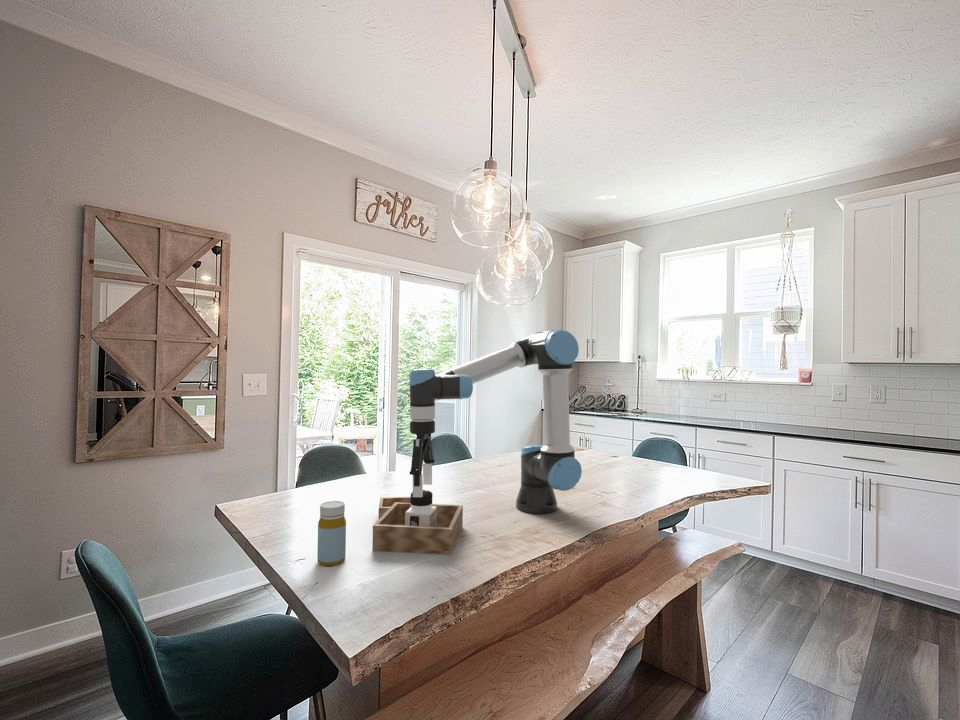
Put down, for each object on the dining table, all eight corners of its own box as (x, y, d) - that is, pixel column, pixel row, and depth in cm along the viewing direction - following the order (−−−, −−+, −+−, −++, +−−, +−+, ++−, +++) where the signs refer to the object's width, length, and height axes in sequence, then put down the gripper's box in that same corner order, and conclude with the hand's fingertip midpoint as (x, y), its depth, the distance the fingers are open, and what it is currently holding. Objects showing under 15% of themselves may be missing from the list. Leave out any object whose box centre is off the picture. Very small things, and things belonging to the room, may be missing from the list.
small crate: (415, 513, 163) (415, 496, 163) (415, 524, 151) (416, 506, 151) (380, 514, 161) (380, 497, 161) (378, 526, 149) (378, 508, 149)
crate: (462, 526, 150) (462, 505, 150) (451, 554, 127) (452, 529, 128) (394, 523, 152) (395, 502, 152) (372, 550, 130) (372, 525, 130)
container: (429, 540, 135) (430, 495, 135) (404, 538, 137) (405, 493, 137) (436, 531, 143) (437, 488, 143) (412, 529, 144) (413, 487, 144)
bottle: (321, 556, 125) (322, 500, 126) (347, 555, 126) (348, 500, 126) (314, 567, 118) (315, 508, 119) (342, 566, 119) (343, 508, 119)
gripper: (419, 415, 153) (419, 479, 153) (399, 425, 128) (399, 502, 128) (442, 415, 152) (442, 480, 152) (425, 425, 127) (426, 503, 127)
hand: (422, 490), depth 140 cm, fingers open, 13 cm apart
